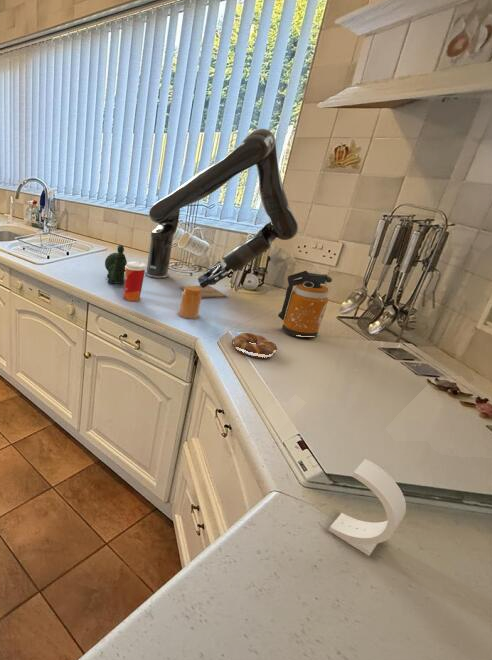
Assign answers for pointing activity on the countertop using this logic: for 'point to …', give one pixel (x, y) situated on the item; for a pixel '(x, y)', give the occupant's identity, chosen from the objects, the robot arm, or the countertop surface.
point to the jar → (190, 302)
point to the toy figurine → (116, 266)
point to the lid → (204, 277)
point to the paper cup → (133, 280)
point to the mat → (209, 292)
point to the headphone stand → (366, 532)
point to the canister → (305, 304)
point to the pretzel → (260, 346)
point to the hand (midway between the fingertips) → (200, 283)
